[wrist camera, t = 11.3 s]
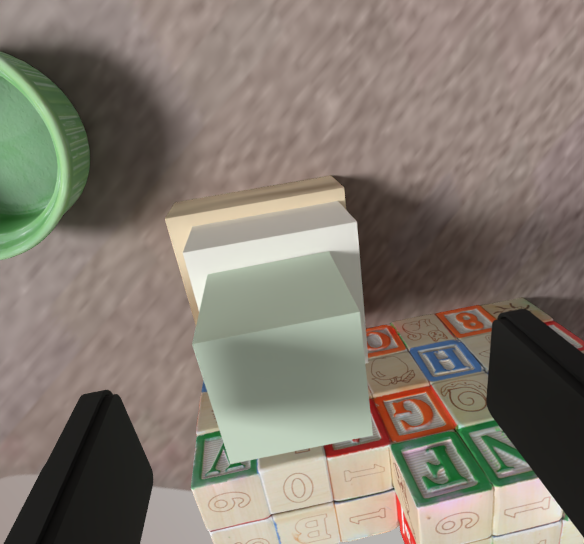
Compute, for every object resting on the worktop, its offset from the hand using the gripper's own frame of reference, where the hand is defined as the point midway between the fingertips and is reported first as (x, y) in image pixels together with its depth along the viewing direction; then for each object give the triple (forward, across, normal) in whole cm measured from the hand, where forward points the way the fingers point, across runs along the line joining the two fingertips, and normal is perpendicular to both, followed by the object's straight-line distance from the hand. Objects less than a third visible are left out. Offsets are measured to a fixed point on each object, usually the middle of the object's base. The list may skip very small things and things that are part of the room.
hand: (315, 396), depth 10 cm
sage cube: (+7, +1, +2) cm, 8 cm away
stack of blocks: (+14, -5, +11) cm, 19 cm away
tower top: (+11, 0, +2) cm, 11 cm away
